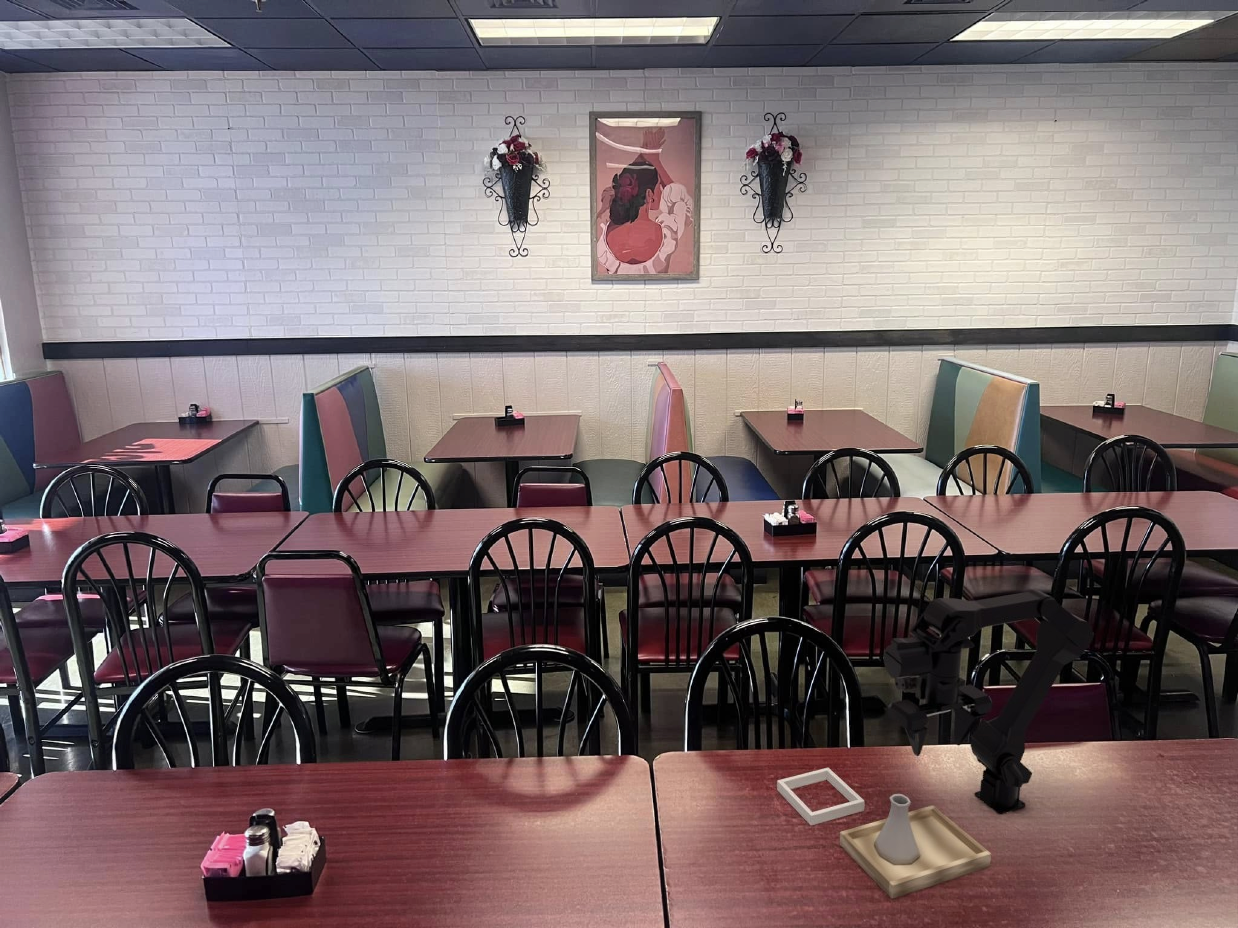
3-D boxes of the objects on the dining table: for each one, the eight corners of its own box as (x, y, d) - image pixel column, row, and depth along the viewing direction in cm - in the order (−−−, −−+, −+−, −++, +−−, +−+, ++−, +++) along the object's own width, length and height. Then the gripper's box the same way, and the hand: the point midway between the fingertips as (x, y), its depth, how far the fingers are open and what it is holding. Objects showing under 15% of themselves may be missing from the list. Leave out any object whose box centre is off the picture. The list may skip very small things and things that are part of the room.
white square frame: (827, 776, 164) (828, 767, 163) (864, 810, 153) (864, 800, 153) (777, 789, 160) (777, 780, 160) (810, 825, 149) (811, 815, 149)
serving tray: (931, 817, 151) (932, 805, 151) (989, 866, 138) (991, 853, 138) (839, 844, 144) (840, 831, 144) (891, 898, 131) (892, 885, 131)
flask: (928, 859, 139) (932, 806, 137) (892, 870, 136) (896, 816, 134) (900, 832, 145) (903, 782, 143) (865, 842, 143) (868, 791, 141)
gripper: (952, 643, 157) (946, 717, 160) (870, 660, 150) (866, 737, 154) (997, 668, 146) (990, 747, 150) (911, 687, 140) (906, 769, 144)
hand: (936, 749), depth 150 cm, fingers open, 9 cm apart
